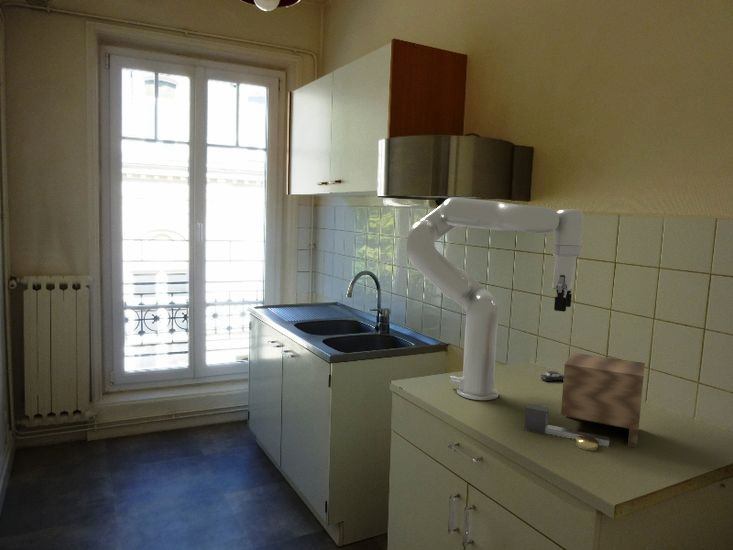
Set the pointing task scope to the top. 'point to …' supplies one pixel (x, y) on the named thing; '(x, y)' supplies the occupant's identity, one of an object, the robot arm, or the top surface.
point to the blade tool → (539, 420)
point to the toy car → (552, 376)
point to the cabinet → (604, 392)
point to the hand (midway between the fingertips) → (562, 308)
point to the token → (586, 442)
